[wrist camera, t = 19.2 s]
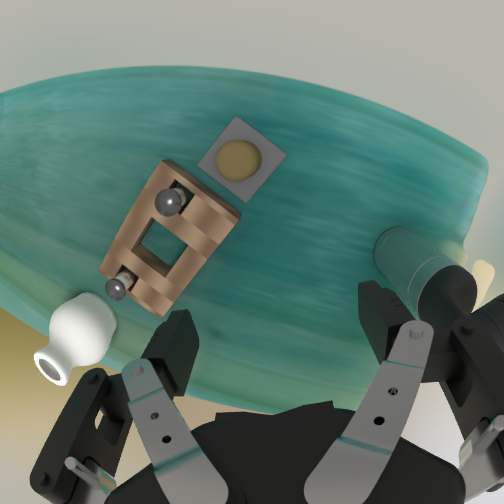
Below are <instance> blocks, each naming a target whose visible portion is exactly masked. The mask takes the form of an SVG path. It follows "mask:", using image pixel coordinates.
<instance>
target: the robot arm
mask: <svg viewBox="0 0 504 504" xmlns="http://www.w3.org/2000/svg"><path fill="white" fill-rule="evenodd" d="M374 260H375V263H376V265H377V267H378V268H379V269H380V270H381V272H382V273H383V274H384V275H385V276H386V278H387V279H388V280H389V281H390V282H391V284H392V285H393V286H394V287H395V288H396V290H397V291H398V292H399V293H400V295H401V296H402V297H403V298H404V300H405V301H406V302H407V303H408V305H409V306H410V307H411V308H412V309H413V311H414V312H415V313H416V315H417V316H418V317H419V318H420V320H421V321H419V320H416V319H415V318H414V317H413V315H412V314H411V313H410V311H409V310H408V309H407V307H406V306H405V305H404V304H403V302H402V301H401V300H400V298H399V297H398V296H397V295H396V293H395V292H393V291H391V290H390V289H388V288H383V289H381V287H380V286H379V285H378V283H377V282H376V281H375V280H370V281H366V282H361V283H359V285H358V311H359V319H360V323H361V325H362V327H363V329H364V332H365V334H366V336H367V338H368V340H369V342H370V344H371V346H372V349H373V351H374V353H375V355H376V357H377V360H378V362H379V364H380V367H379V369H378V371H377V373H376V375H375V377H374V379H373V381H372V383H371V385H370V387H369V389H368V391H367V393H366V395H365V397H364V398H363V400H362V402H361V404H360V405H359V407H358V409H357V411H352V410H348V409H341V408H334V406H333V401H332V400H331V401H326V402H321V403H315V404H309V405H303V406H300V407H297V408H294V409H291V410H288V411H285V412H282V413H279V414H275V415H266V414H258V413H250V412H223V413H216V416H215V421H212V422H208V423H206V424H203V425H201V426H199V427H197V428H195V429H194V430H192V431H191V430H190V428H189V427H188V425H187V424H186V422H185V420H184V419H183V417H182V416H181V414H180V412H179V411H178V409H177V407H176V406H175V404H174V402H173V398H174V396H184V394H185V391H186V387H187V384H188V381H189V377H190V374H191V371H192V368H193V365H194V361H195V358H196V355H197V352H198V349H199V337H198V333H197V331H196V328H195V325H194V323H193V320H192V317H191V314H190V312H189V311H188V310H187V309H186V310H177V311H172V312H171V314H170V316H169V318H168V320H167V321H166V322H163V323H162V324H161V325H160V326H159V327H158V328H157V329H156V331H155V333H154V334H153V336H152V338H151V340H150V342H149V343H148V345H147V347H146V349H145V351H144V353H143V354H142V356H141V358H140V359H136V360H133V361H131V362H129V363H128V364H127V365H126V366H125V367H124V368H123V370H122V373H121V374H116V375H111V376H108V375H107V374H106V372H105V370H104V369H102V368H94V369H91V370H89V371H87V372H86V373H85V374H84V375H83V376H82V378H81V379H80V381H79V382H78V384H77V386H76V388H75V389H74V391H73V393H72V395H71V397H70V398H69V400H68V401H67V403H66V405H65V407H64V408H63V410H62V412H61V414H60V416H59V417H58V419H57V421H56V423H55V425H54V427H53V429H52V431H51V433H50V435H49V437H48V438H47V440H46V442H45V444H44V446H43V448H42V450H41V453H40V455H39V457H38V459H37V461H36V463H35V465H34V468H33V470H32V472H31V474H30V485H31V487H32V489H33V490H34V491H35V492H37V493H38V494H40V495H41V496H43V497H44V498H46V499H47V500H49V501H50V502H51V503H52V504H464V503H465V502H467V501H469V500H470V499H472V498H474V497H476V496H478V495H480V494H481V493H483V492H485V491H487V492H493V491H496V490H498V489H499V488H501V487H502V486H503V485H504V294H502V295H499V296H497V297H496V298H494V299H493V300H491V301H490V302H488V303H487V304H485V305H484V306H482V307H481V308H479V309H477V310H476V311H474V312H472V310H473V308H474V305H475V302H476V298H477V284H476V281H475V279H474V277H473V276H472V275H471V274H470V273H469V272H468V271H466V270H465V269H464V268H463V267H461V266H460V265H459V264H457V263H456V262H455V261H453V260H452V259H450V258H449V257H447V256H446V255H445V254H443V253H442V252H440V251H439V250H438V249H436V248H435V247H433V246H432V245H430V244H429V243H427V242H426V241H425V240H423V239H422V238H420V237H419V236H417V235H416V234H414V233H413V232H411V231H410V230H408V229H406V228H404V227H394V228H391V229H389V230H387V231H386V232H384V233H383V234H382V235H381V237H380V238H379V239H378V241H377V243H376V246H375V249H374ZM471 312H472V313H471ZM427 382H439V383H440V386H441V388H442V390H443V392H444V394H445V396H446V398H447V400H448V403H449V405H450V407H451V409H452V412H453V414H454V416H455V419H456V421H457V423H458V426H459V428H460V431H461V433H462V436H463V438H464V441H465V442H464V443H463V444H462V446H461V448H460V451H459V461H460V466H459V469H457V468H456V467H455V466H454V465H452V464H451V463H449V462H447V461H445V460H443V459H441V458H439V457H437V456H435V455H433V454H431V453H429V452H428V451H426V450H424V449H422V448H420V447H418V446H416V445H415V444H413V443H411V442H409V441H407V440H406V439H404V438H402V437H400V436H401V434H402V431H403V429H404V427H405V424H406V422H407V419H408V417H409V414H410V412H411V409H412V406H413V403H414V401H415V398H416V395H417V392H418V389H419V386H420V383H427ZM99 410H101V412H102V413H103V414H104V415H103V417H102V419H101V422H100V424H99V426H98V429H96V427H95V418H96V416H97V414H98V412H99ZM133 420H134V423H135V425H136V428H137V430H138V432H139V435H140V437H141V440H142V442H143V444H144V447H145V449H146V451H147V453H148V455H149V458H150V460H151V462H152V463H150V464H149V465H148V466H146V467H145V468H144V469H142V470H141V471H140V472H138V473H137V474H135V475H134V476H133V477H132V478H130V479H129V480H127V481H126V482H124V483H123V484H121V485H120V486H118V487H117V486H116V481H115V479H114V476H115V473H116V470H117V467H118V463H119V460H120V457H121V453H122V451H123V448H124V445H125V441H126V438H127V436H128V433H129V430H130V427H131V424H132V421H133Z"/></svg>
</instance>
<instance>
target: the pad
mask: <svg viewBox="0 0 504 504" xmlns="http://www.w3.org/2000/svg"><path fill="white" fill-rule="evenodd" d="M233 140H244V141H249V142H251V143H253V144H254V145H256V146H257V147H258V149H259V150H260V152H261V156H262V162H261V166H260V168H259V170H258V171H257V172H256V173H255V174H254V175H252V176H250V177H249V178H248V179H246V180H244V181H239V182H233V181H229V180H227V179H224V178H223V177H222V176H221V175H220V174H219V172H218V171H217V169H216V165H215V156H216V154H217V151H218V149H219V148H220V147H221V146H222V145H223V144H225V143H227V142H228V141H233ZM286 156H287V155H286V154H285V153H284V152H282V151H281V150H280V149H279V148H278V147H276V146H275V145H274V144H273V143H271V142H270V141H269V140H267V139H266V138H265V137H264V136H262V135H261V134H260V133H258V132H257V131H256V130H255V129H253V128H252V127H251V126H249V125H248V124H247V123H245V122H244V121H242V120H241V119H240V118H238V117H237V116H236V117H235V118H234V119H233V120H232V121H231V123H230V124H229V125H228V126H227V127H226V129H225V130H224V131H223V132H222V134H221V135H220V136H219V137H218V139H217V140H216V141H215V142H214V144H213V145H212V146H211V148H210V149H209V150H208V151H207V153H206V154H205V155H204V157H203V158H202V159H201V161H200V162H199V163H198V165H197V166H198V167H200V168H201V169H202V170H204V171H205V172H206V173H208V174H209V175H210V176H211V177H213V178H214V179H215V180H217V181H218V182H219V183H221V184H222V185H223V186H224V187H226V188H227V189H228V190H230V191H231V192H232V193H234V194H235V195H236V196H237V197H239V198H240V199H241V200H242V201H244V202H245V203H247V202H248V201H249V200H250V198H251V197H252V196H253V195H254V194H255V192H256V191H257V190H258V189H259V188H260V186H261V185H262V184H263V183H264V182H265V180H266V179H267V178H268V177H269V176H270V174H271V173H272V172H273V171H274V170H275V169H276V167H277V166H278V165H279V164H280V163H281V161H282V160H283V159H284V158H285V157H286Z"/></svg>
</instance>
